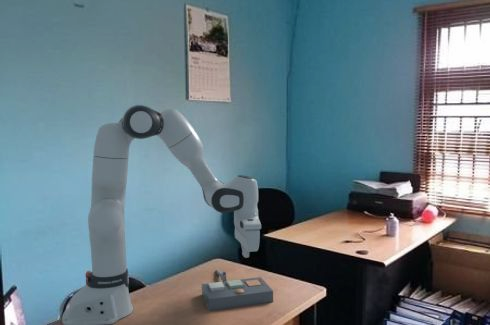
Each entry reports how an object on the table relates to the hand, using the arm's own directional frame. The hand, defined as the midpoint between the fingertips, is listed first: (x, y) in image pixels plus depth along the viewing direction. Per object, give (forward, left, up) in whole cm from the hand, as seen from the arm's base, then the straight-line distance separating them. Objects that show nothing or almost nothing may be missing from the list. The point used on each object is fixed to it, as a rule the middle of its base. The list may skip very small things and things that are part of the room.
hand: (245, 256), depth 155 cm
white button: (-11, -1, -12) cm, 17 cm away
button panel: (-4, -3, -14) cm, 15 cm away
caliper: (-6, +17, -15) cm, 24 cm away
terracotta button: (+3, -1, -13) cm, 13 cm away
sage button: (-4, -1, -12) cm, 13 cm away
